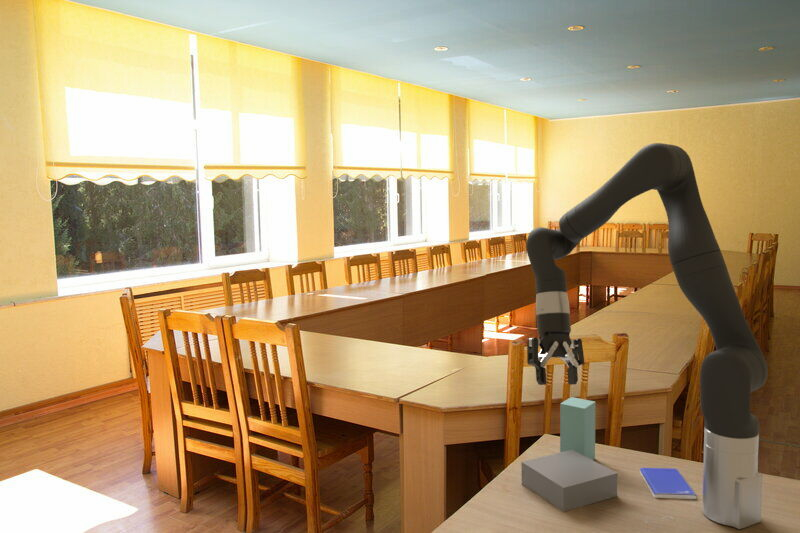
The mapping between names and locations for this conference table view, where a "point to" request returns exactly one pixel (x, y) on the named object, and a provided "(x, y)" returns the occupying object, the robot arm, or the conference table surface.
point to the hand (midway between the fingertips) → (557, 384)
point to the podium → (569, 479)
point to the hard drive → (667, 483)
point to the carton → (578, 426)
